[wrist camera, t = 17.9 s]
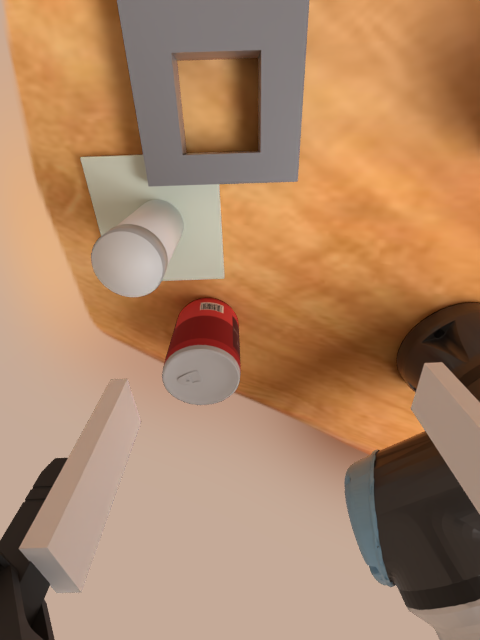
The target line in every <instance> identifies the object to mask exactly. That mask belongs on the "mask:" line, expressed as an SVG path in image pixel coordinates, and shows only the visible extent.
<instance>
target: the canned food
mask: <svg viewBox="0 0 480 640" xmlns="http://www.w3.org/2000/svg"><path fill="white" fill-rule="evenodd" d="M240 373H241V371H240V344H239V323H238V318H237V316H236V314H235V312H234V311H233V310H232V308H231V307H230V306H229V305H228V304H226V303H225V302H223V301H221V300H218V299H214V298H202V299H198V300H195V301H193V302H191V303H189V304H188V305H187V306H186V307H185V308H183V310H182V311H181V312H180V314H179V316H178V319H177V322H176V325H175V329H174V332H173V335H172V339H171V342H170V345H169V349H168V352H167V355H166V359H165V363H164V367H163V374H162V378H163V383H164V386H165V388H166V389H167V391H168V392H169V393H170V394H171V395H173V396H174V397H175V398H177V399H179V400H181V401H183V402H186V403H189V404H196V405H209V404H214V403H218V402H220V401H223V400H225V399H226V398H228V397H229V396H231V395H232V394H233V393H234V392H235V390H236V389H237V387H238V385H239V382H240Z"/></svg>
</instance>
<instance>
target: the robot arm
mask: <svg viewBox="0 0 480 640" xmlns="http://www.w3.org/2000/svg"><path fill="white" fill-rule="evenodd" d="M397 367H398V371H399V373H400V375H401V376H402V378H403V379H404V380H405V382H406V383H407V385H408V386H409V387H410V388H411V389H412V390H413V391H415V392H416V393H415V397H414V400H413V403H412V407H411V410H412V411H413V413H414V414H415V416H416V417H417V419H418V420H419V422H420V424H421V425H422V427H423V428H424V430H425V432H422V433H420V434H418V435H415V436H413V437H411V438H408V439H406V440H404V441H401V442H399V443H397V444H394V445H392V446H390V447H387V448H385V449H383V450H375V451H373V453H372V454H371V455H369V456H367V457H365V458H363V459H361V460H359V461H357V462H355V463H354V464H352V465H351V466H350V467H349V468H348V470H347V472H346V476H345V498H346V504H347V509H348V514H349V518H350V521H351V525H352V529H353V531H354V535H355V538H356V540H357V543H358V546H359V549H360V551H361V554H362V556H363V558H364V560H365V562H366V564H367V565H369V567H370V571H371V573H372V575H373V576H374V578H375V579H376V580H377V581H378V582H379V583H381V584H383V585H388V586H390V587H393V586H395V585H396V586H397V587H398V589H399V591H400V593H401V595H402V598H403V600H404V602H405V605H406V606H407V608H408V610H409V611H410V612H412V613H413V614H415V615H416V616H418V617H419V618H421V619H422V620H424V621H425V622H427V623H428V624H430V625H431V626H432V627H433V628H434V629H435V631H436V633H437V635H438V637H439V639H440V640H480V303H463V304H458V305H454V306H450V307H447V308H444V309H442V310H440V311H438V312H436V313H434V314H432V315H430V316H429V317H427V318H425V319H424V320H423V321H421V322H420V323H419V324H418V325H416V326H415V327H414V328H413V329H412V330H411V331H410V332H409V334H408V335H407V336H406V338H405V339H404V341H403V342H402V344H401V346H400V348H399V351H398V355H397ZM140 424H141V419H140V416H139V413H138V410H137V407H136V403H135V400H134V397H133V394H132V391H131V388H130V385H129V381H128V379H111V380H110V382H109V384H108V386H107V388H106V389H105V391H104V393H103V395H102V397H101V399H100V400H99V402H98V404H97V406H96V408H95V409H94V411H93V413H92V415H91V417H90V419H89V420H88V422H87V424H86V426H85V428H84V430H83V431H82V433H81V435H80V437H79V439H78V441H77V443H76V444H75V446H74V448H73V450H72V452H71V454H70V455H69V457H68V458H56V459H54V460H53V461H52V462H51V463H50V464H49V465H48V466H47V467H46V468H45V469H44V470H43V471H42V472H41V474H40V476H39V477H38V479H37V481H36V482H35V484H34V485H33V489H32V490H30V492H29V494H28V496H27V497H26V499H25V502H23V504H22V505H21V507H20V509H19V510H18V512H17V514H16V515H15V517H14V519H13V520H12V522H11V524H10V525H9V527H8V529H7V530H6V532H5V534H4V535H3V537H2V539H1V540H0V640H54V635H53V631H52V626H51V622H50V617H49V613H48V608H47V604H46V602H45V600H44V597H45V595H46V593H47V591H48V588H49V586H50V585H51V587H52V588H53V589H54V590H55V592H56V593H75V592H81V591H82V589H83V586H84V583H85V580H86V578H87V575H88V572H89V569H90V566H91V563H92V560H93V558H94V555H95V552H96V549H97V546H98V543H99V541H100V538H101V535H102V532H103V529H104V526H105V524H106V521H107V518H108V515H109V512H110V509H111V506H112V504H113V501H114V498H115V495H116V492H117V490H118V486H119V484H120V481H121V478H122V475H123V472H124V470H125V467H126V464H127V461H128V458H129V455H130V452H131V450H132V447H133V444H134V441H135V438H136V436H137V433H138V430H139V427H140Z"/></svg>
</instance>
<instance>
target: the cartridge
mask: <svg viewBox="0 0 480 640" xmlns="http://www.w3.org/2000/svg"><path fill="white" fill-rule="evenodd" d="M183 230H184V223H183V219H182V216H181V214H180V212H179V211H178V210H177V208H176V207H175V206H173V205H172V204H170V203H169V202H167V201H164V200H158V199H155V200H150V201H147V202H146V203H144V204H143V205H142V206H140V207H139V208H138V209H137V210H136V211H134V212H133V213H132V214H131V215H129V216H128V217H127V218H126V219H124V220H123V221H122V222H121V223H120V224H118V225H117V226H115V227H113V228H111V229H110V230H109V231H107V232H106V233H105V234H104V235H102V236H101V237H100V238H99V239H98V240H97V241H96V243H95V244H94V246H93V249H92V253H91V261H92V266H93V269H94V272H95V274H96V276H97V277H98V279H99V280H100V281H101V283H102V284H103V285H104V286H105V287H107V288H108V289H109V290H111V291H113V292H114V293H117V294H119V295H122V296H126V297H141V296H145V295H148V294H150V293H151V292H153V291H154V290H155V289H156V288H157V287H158V286H159V285H160V283H161V281H162V279H163V277H164V275H165V273H166V270H167V266H168V263H169V261H170V259H171V257H172V255H173V253H174V251H175V249H176V247H177V245H178V243H179V240H180V238H181V236H182V234H183Z"/></svg>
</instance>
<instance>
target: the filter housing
mask: <svg viewBox="0 0 480 640" xmlns="http://www.w3.org/2000/svg"><path fill="white" fill-rule="evenodd" d="M117 5H118V10H119V16H120V22H121V28H122V34H123V40H124V46H125V51H126V57H127V63H128V69H129V75H130V81H131V87H132V92H133V98H134V104H135V110H136V116H137V122H138V128H139V133H140V139H141V145H142V151H143V157H144V163H145V169H146V174H147V180H148V186H149V187H150V186H180V185H209V184H239V183H268V182H297V181H298V167H299V152H300V136H301V121H302V105H303V90H304V75H305V59H306V44H307V28H308V13H309V0H117ZM242 58H258V151H236V152H217V153H193V154H186V153H187V151H186V142H185V132H184V123H183V113H182V104H181V94H180V85H179V75H178V65H177V61H178V60H210V59H242Z"/></svg>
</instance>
